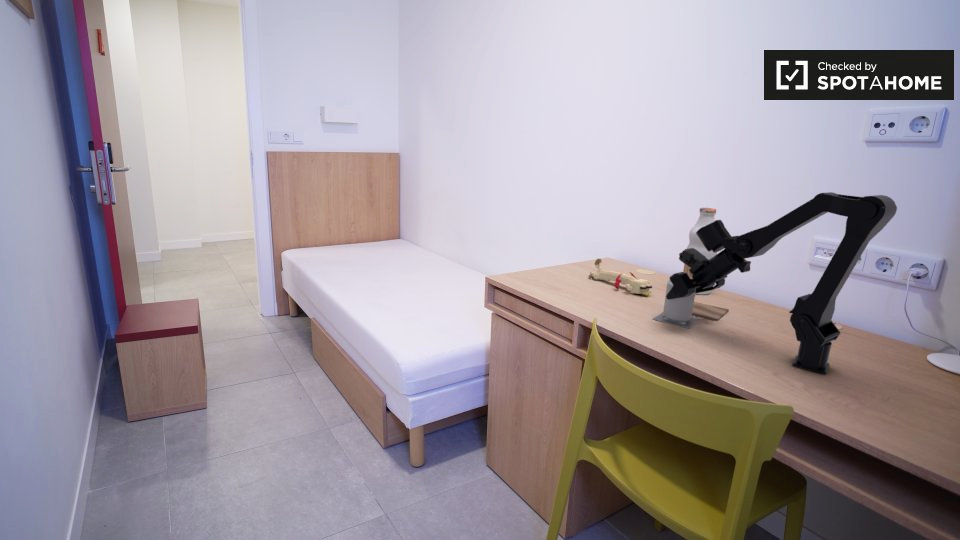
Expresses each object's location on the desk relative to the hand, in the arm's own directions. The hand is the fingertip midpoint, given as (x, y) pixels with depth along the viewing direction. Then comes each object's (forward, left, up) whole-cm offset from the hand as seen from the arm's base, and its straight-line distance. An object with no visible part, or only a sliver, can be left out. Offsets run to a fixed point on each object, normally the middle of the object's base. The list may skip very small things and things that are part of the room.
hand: (675, 295), depth 138 cm
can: (0, -1, -7) cm, 7 cm away
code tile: (0, -1, -7) cm, 7 cm away
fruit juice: (+34, +4, -7) cm, 34 cm away
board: (+13, -4, -7) cm, 15 cm away
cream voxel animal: (+19, +24, -7) cm, 31 cm away
